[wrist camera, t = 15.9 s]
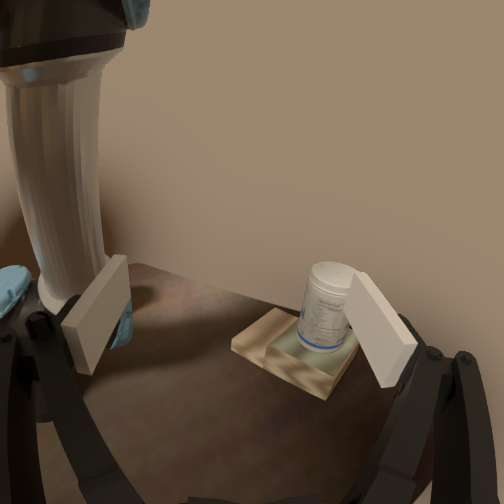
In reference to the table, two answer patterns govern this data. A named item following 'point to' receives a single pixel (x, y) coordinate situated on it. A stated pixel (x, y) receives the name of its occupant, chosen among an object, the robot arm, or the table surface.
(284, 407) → the table surface
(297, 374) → the birch riser
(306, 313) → the supplement tub
